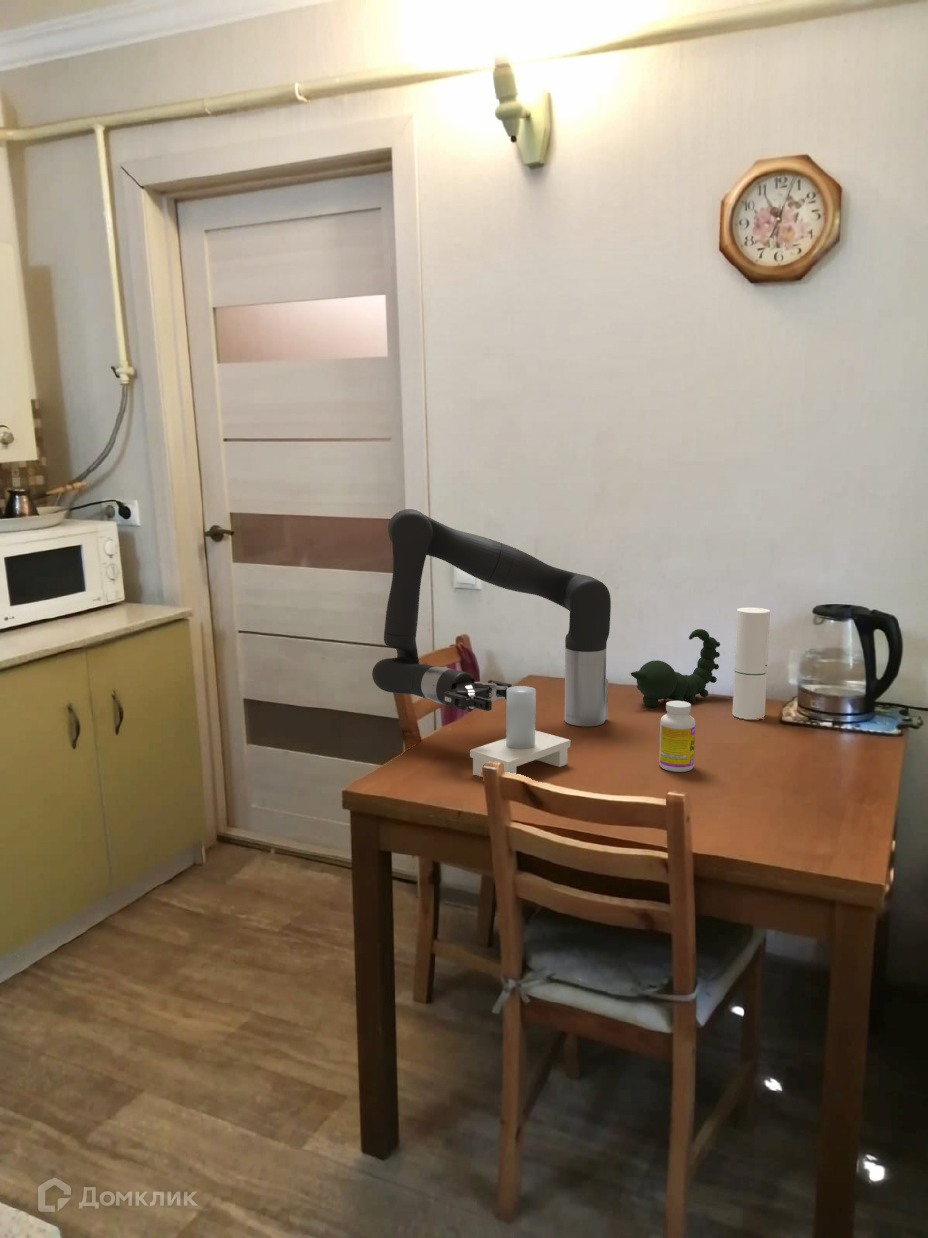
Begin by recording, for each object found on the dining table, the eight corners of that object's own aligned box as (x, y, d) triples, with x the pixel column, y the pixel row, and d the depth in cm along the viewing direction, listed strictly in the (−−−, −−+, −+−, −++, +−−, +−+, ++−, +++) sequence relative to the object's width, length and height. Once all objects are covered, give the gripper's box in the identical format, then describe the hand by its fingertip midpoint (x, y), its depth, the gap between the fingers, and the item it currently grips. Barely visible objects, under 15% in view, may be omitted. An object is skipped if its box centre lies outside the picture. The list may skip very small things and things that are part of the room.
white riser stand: (532, 752, 190) (532, 729, 189) (570, 764, 183) (570, 740, 182) (470, 774, 177) (470, 750, 176) (508, 788, 170) (508, 762, 169)
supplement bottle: (694, 774, 176) (696, 709, 174) (659, 772, 178) (661, 707, 175) (693, 762, 183) (695, 700, 180) (659, 760, 184) (660, 698, 182)
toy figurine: (696, 699, 235) (615, 702, 224) (705, 625, 232) (623, 626, 221) (722, 708, 226) (639, 712, 215) (731, 632, 224) (647, 632, 213)
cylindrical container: (768, 715, 215) (773, 609, 210) (759, 722, 209) (765, 614, 204) (737, 710, 218) (742, 606, 214) (728, 718, 212) (733, 611, 208)
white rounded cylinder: (519, 738, 183) (520, 684, 181) (541, 744, 179) (541, 689, 177) (500, 744, 179) (500, 689, 177) (521, 751, 175) (522, 695, 173)
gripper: (422, 675, 186) (480, 689, 175) (471, 663, 196) (529, 676, 185) (422, 711, 187) (480, 727, 176) (472, 697, 197) (529, 712, 186)
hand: (505, 701), depth 180 cm, fingers open, 8 cm apart
